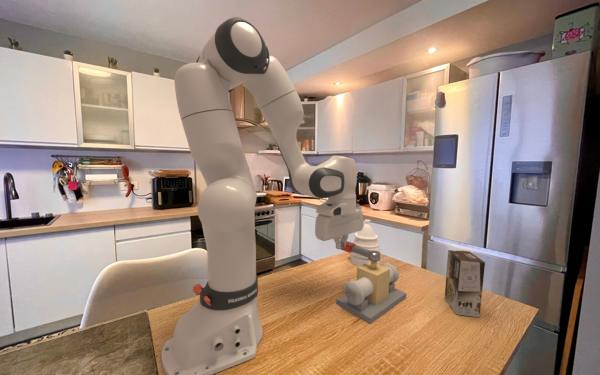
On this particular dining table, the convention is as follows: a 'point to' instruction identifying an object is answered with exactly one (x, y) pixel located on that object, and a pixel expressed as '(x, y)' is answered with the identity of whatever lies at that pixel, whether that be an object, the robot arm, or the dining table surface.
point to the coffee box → (464, 282)
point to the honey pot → (365, 244)
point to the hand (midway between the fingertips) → (340, 248)
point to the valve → (371, 291)
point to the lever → (362, 251)
